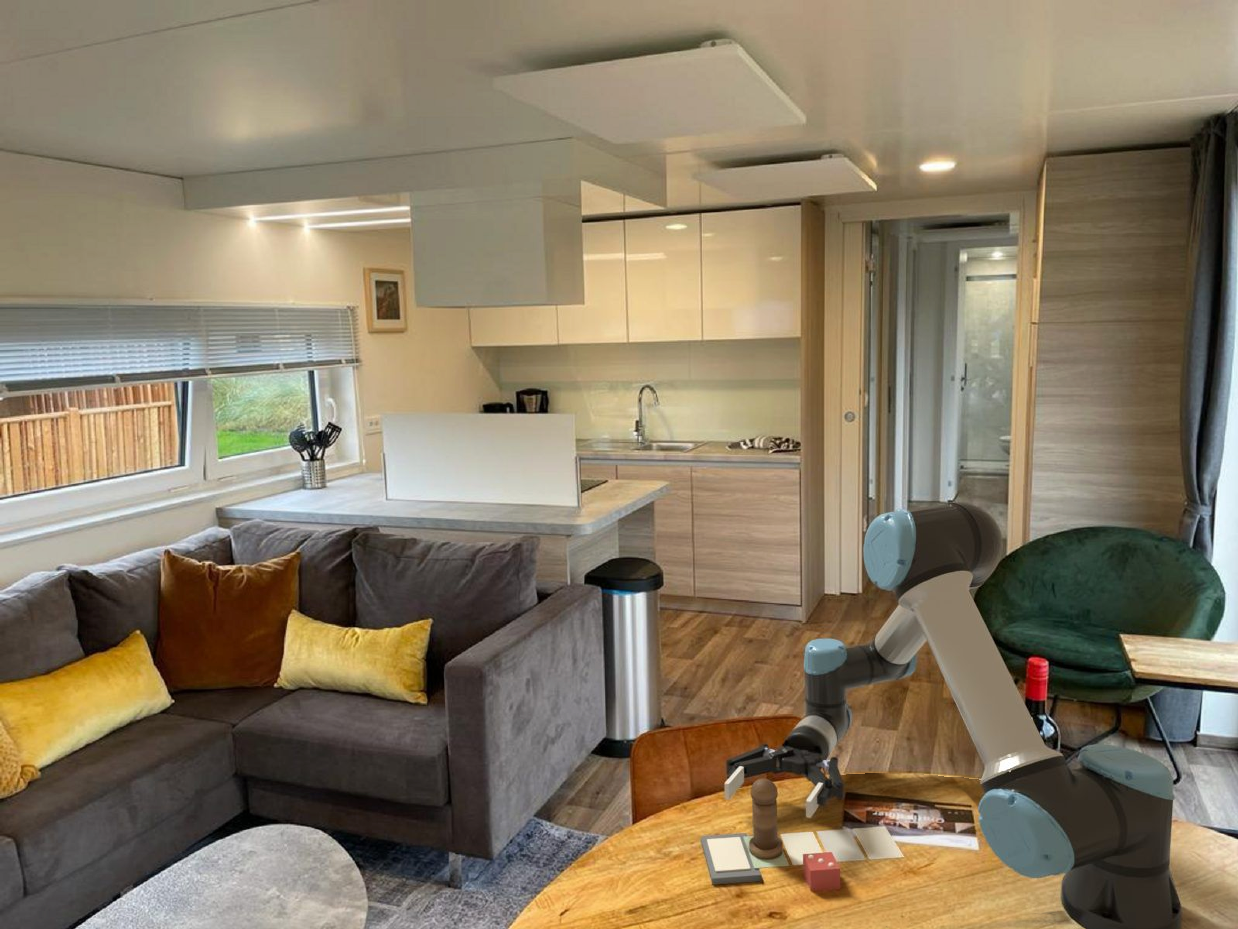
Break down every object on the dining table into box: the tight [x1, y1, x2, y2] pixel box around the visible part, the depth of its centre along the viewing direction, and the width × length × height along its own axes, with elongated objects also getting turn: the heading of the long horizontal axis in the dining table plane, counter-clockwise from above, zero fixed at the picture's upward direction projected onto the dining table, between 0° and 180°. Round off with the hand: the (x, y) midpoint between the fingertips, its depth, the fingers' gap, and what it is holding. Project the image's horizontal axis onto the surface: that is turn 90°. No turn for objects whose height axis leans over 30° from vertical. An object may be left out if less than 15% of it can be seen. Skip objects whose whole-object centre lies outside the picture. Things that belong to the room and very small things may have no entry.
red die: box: [802, 851, 841, 892], centre depth 143 cm, size 4×4×5 cm
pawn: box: [749, 778, 784, 860], centre depth 151 cm, size 5×5×12 cm
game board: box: [700, 825, 905, 886], centre depth 152 cm, size 12×31×1 cm, turn 93°
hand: (766, 800), depth 152 cm, fingers open, 13 cm apart
